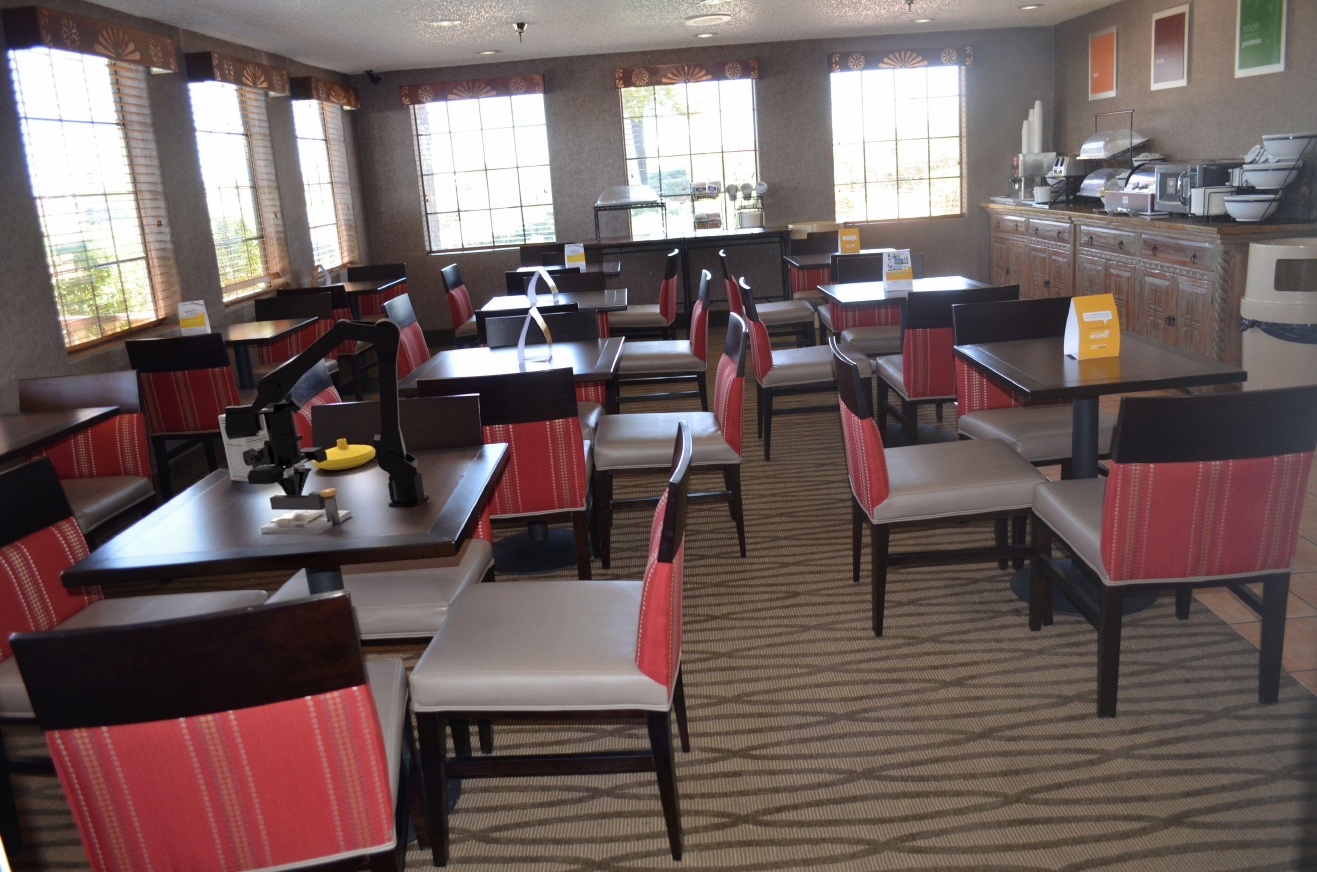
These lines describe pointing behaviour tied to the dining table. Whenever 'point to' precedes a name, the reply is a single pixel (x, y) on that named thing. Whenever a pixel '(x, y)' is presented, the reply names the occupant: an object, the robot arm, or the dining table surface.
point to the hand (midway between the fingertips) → (295, 504)
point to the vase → (346, 456)
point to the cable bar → (301, 501)
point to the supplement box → (241, 450)
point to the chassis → (308, 519)
